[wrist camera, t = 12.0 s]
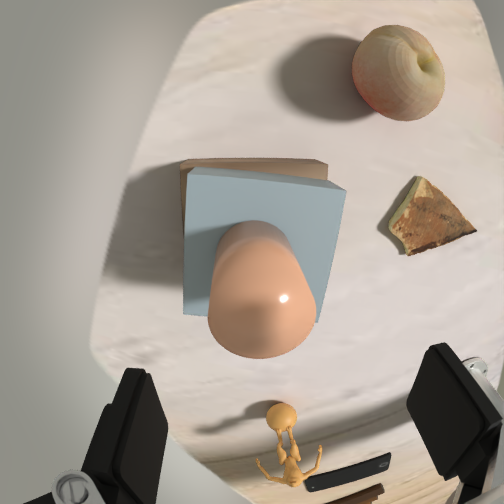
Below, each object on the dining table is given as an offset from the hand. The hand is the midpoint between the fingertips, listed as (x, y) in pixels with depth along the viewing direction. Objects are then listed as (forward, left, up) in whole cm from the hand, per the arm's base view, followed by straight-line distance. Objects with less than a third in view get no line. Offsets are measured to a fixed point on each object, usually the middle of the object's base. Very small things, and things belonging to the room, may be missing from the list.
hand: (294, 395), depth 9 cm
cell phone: (-54, -18, -21) cm, 60 cm away
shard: (0, -19, -21) cm, 28 cm away
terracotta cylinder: (0, +1, -12) cm, 12 cm away
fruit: (+13, -12, -20) cm, 27 cm away
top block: (0, 0, -16) cm, 16 cm away
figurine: (-27, -3, -20) cm, 34 cm away
